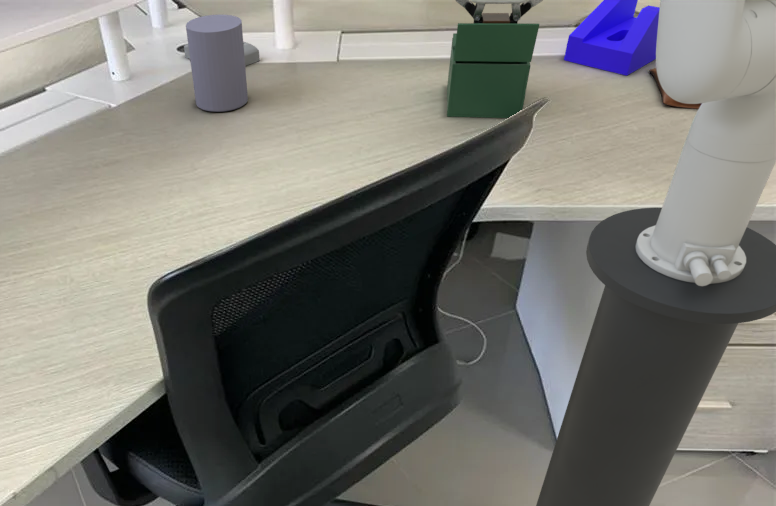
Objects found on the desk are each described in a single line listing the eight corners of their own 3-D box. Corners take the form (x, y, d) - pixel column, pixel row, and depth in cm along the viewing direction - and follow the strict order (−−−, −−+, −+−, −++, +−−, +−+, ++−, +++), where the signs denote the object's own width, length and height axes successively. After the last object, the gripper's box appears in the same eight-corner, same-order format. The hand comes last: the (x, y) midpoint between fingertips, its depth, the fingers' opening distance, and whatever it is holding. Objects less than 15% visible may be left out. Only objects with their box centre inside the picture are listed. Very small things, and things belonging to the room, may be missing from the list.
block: (506, 47, 120) (510, 20, 117) (479, 47, 121) (483, 20, 118) (504, 39, 124) (508, 12, 121) (478, 39, 124) (482, 12, 121)
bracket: (614, 34, 156) (627, -17, 150) (675, 47, 148) (692, -6, 142) (563, 60, 146) (575, 6, 139) (626, 75, 138) (642, 19, 131)
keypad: (216, 29, 162) (258, 43, 153) (218, 46, 164) (259, 60, 155) (183, 40, 157) (224, 55, 149) (185, 57, 160) (226, 72, 151)
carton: (520, 118, 126) (531, 60, 119) (446, 116, 128) (453, 59, 122) (515, 88, 136) (524, 33, 130) (447, 87, 139) (452, 33, 132)
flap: (530, 60, 120) (531, 62, 119) (453, 59, 122) (453, 61, 122) (539, 23, 114) (539, 24, 114) (457, 23, 116) (457, 24, 116)
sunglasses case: (646, 68, 139) (673, 38, 135) (673, 87, 140) (701, 58, 136) (663, 105, 126) (694, 73, 122) (693, 125, 127) (725, 95, 123)
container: (254, 93, 141) (248, 15, 132) (239, 114, 134) (231, 33, 124) (206, 90, 144) (196, 13, 134) (188, 111, 136) (177, 31, 127)
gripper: (454, -71, 109) (442, 49, 121) (569, -73, 106) (545, 50, 118) (454, -81, 115) (443, 35, 126) (563, -83, 112) (540, 35, 124)
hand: (492, 41), depth 122 cm, fingers closed on block, 4 cm apart
